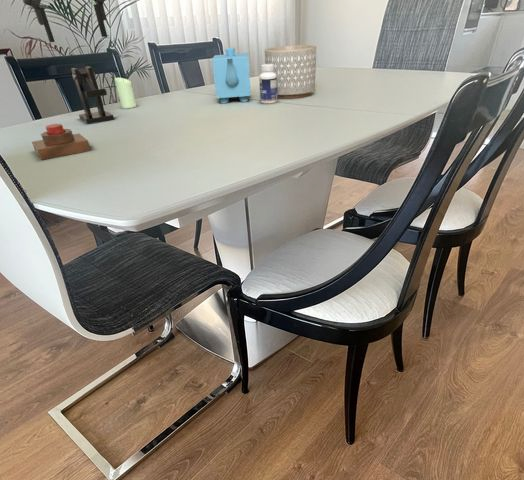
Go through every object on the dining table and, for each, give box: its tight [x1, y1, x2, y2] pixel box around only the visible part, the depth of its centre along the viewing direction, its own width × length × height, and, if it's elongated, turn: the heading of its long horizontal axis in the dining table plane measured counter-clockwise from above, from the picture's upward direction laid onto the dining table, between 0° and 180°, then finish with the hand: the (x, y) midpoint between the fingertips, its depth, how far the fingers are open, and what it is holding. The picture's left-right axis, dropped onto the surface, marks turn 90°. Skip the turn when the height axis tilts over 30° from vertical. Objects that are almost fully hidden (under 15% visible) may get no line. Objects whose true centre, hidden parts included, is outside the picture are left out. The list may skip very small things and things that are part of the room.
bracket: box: [70, 65, 115, 125], centre depth 113 cm, size 10×8×13 cm
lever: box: [77, 67, 108, 99], centre depth 109 cm, size 12×6×2 cm, turn 32°
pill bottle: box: [258, 63, 278, 105], centre depth 120 cm, size 5×5×10 cm
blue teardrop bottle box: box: [211, 47, 252, 104], centre depth 124 cm, size 22×11×14 cm, turn 2°
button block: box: [31, 128, 92, 161], centre depth 90 cm, size 11×9×4 cm
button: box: [45, 123, 65, 135], centre depth 88 cm, size 4×4×2 cm
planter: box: [264, 44, 317, 100], centre depth 126 cm, size 16×16×13 cm
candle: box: [114, 77, 137, 109], centre depth 128 cm, size 5×5×8 cm
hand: (79, 39), depth 101 cm, fingers open, 13 cm apart
